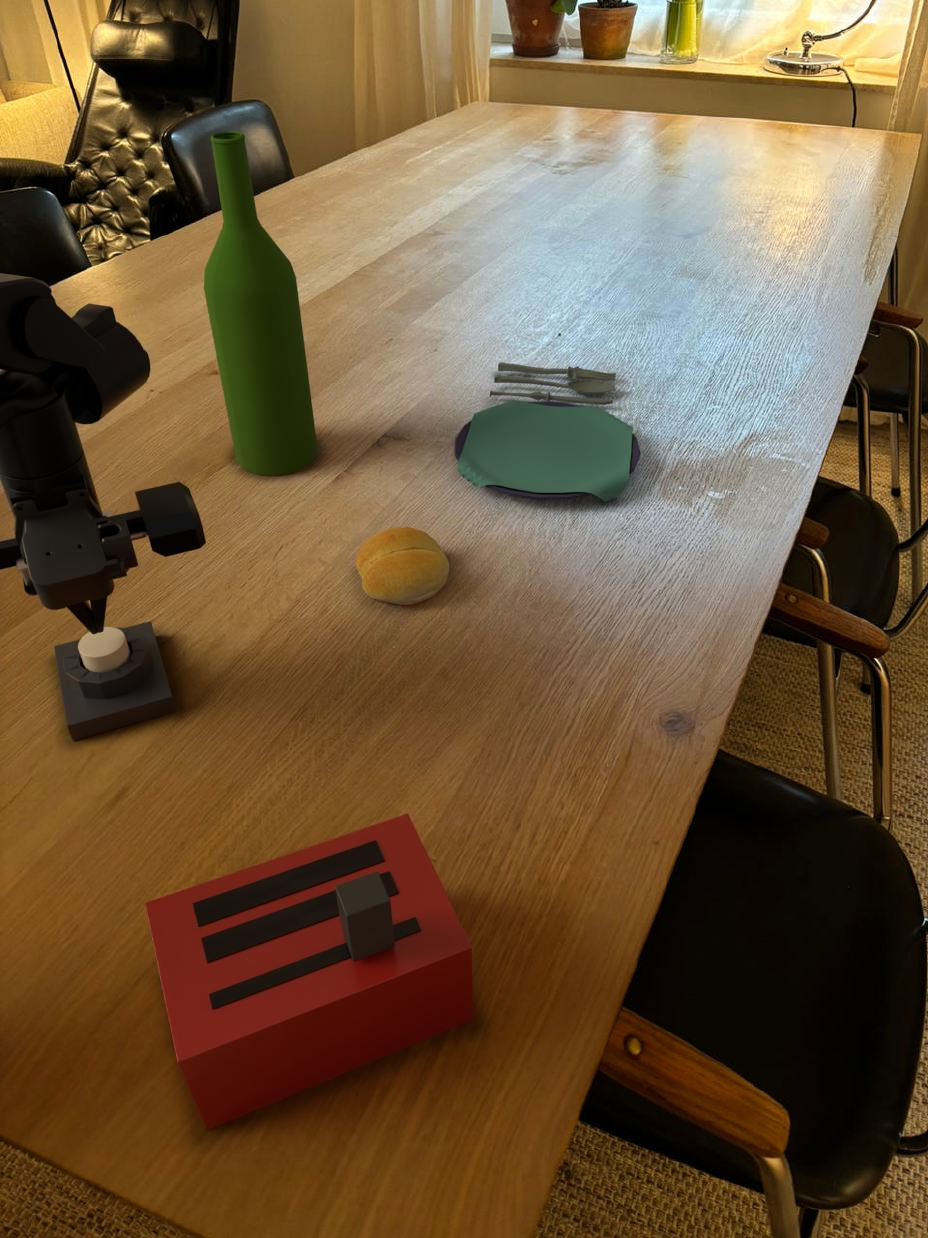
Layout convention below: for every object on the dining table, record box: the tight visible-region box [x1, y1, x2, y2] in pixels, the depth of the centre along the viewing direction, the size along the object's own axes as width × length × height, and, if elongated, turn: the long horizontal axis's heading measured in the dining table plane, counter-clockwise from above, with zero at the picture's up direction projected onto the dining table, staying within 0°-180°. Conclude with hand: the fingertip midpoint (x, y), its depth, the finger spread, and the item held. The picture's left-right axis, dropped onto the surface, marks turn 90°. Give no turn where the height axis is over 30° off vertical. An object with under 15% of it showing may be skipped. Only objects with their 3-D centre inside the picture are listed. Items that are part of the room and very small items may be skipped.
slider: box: [335, 872, 395, 962], centre depth 53 cm, size 2×2×4 cm
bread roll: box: [355, 526, 450, 606], centre depth 90 cm, size 8×9×4 cm
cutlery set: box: [454, 361, 642, 503], centre depth 110 cm, size 20×30×2 cm, turn 170°
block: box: [53, 620, 177, 742], centre depth 80 cm, size 8×10×4 cm
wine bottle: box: [203, 130, 318, 477], centre depth 98 cm, size 9×9×32 cm
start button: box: [78, 626, 130, 673], centre depth 79 cm, size 4×4×2 cm
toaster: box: [144, 813, 474, 1131], centre depth 58 cm, size 16×10×8 cm, turn 113°
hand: (97, 630), depth 77 cm, fingers closed
